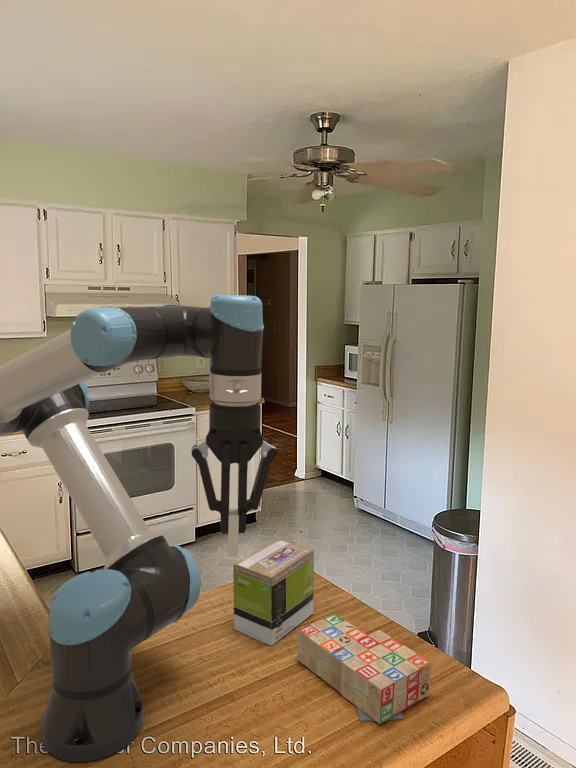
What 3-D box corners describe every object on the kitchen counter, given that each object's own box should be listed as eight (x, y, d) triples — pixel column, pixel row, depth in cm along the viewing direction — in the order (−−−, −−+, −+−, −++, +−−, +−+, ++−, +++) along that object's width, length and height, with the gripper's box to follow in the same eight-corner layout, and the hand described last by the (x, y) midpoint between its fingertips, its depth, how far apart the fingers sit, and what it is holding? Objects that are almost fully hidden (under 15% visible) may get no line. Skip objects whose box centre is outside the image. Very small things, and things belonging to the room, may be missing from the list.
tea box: (276, 600, 133) (277, 536, 131) (314, 615, 127) (316, 549, 125) (231, 630, 121) (232, 561, 119) (271, 648, 115) (272, 576, 113)
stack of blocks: (296, 628, 111) (345, 608, 118) (295, 659, 111) (344, 637, 119) (382, 689, 94) (432, 661, 102) (380, 725, 95) (430, 695, 102)
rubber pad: (360, 722, 96) (360, 720, 96) (345, 674, 108) (345, 672, 108) (403, 719, 97) (403, 717, 97) (383, 672, 109) (383, 670, 109)
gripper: (189, 406, 83) (188, 565, 87) (282, 406, 85) (277, 562, 89) (190, 396, 91) (190, 543, 95) (276, 396, 93) (272, 540, 97)
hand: (232, 552), depth 92 cm, fingers closed
